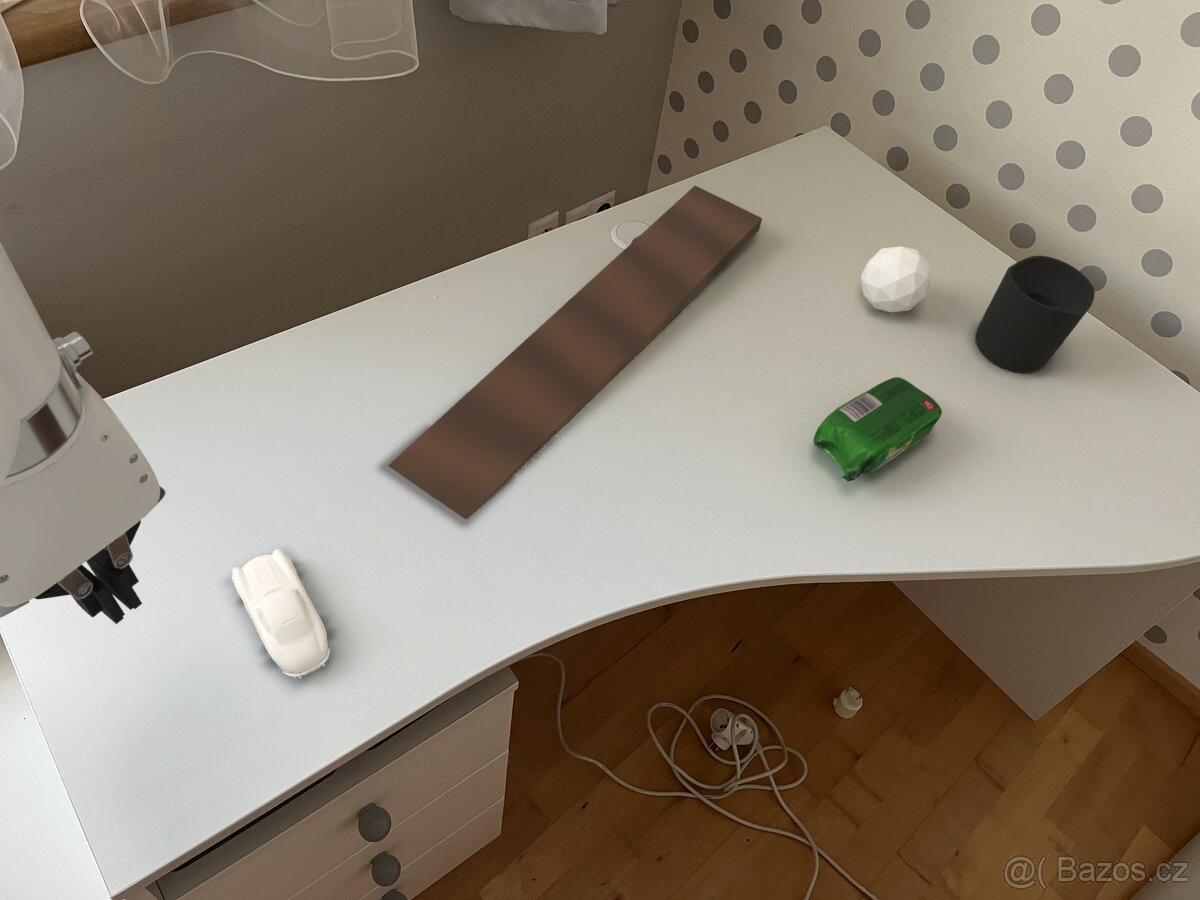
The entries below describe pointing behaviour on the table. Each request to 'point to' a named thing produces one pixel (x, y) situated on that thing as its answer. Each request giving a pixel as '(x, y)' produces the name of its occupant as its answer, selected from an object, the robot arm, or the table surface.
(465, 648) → the table surface
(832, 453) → the snack package
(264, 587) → the toy car
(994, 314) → the pen holder
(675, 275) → the ramp
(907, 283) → the geometric ball
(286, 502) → the table surface
